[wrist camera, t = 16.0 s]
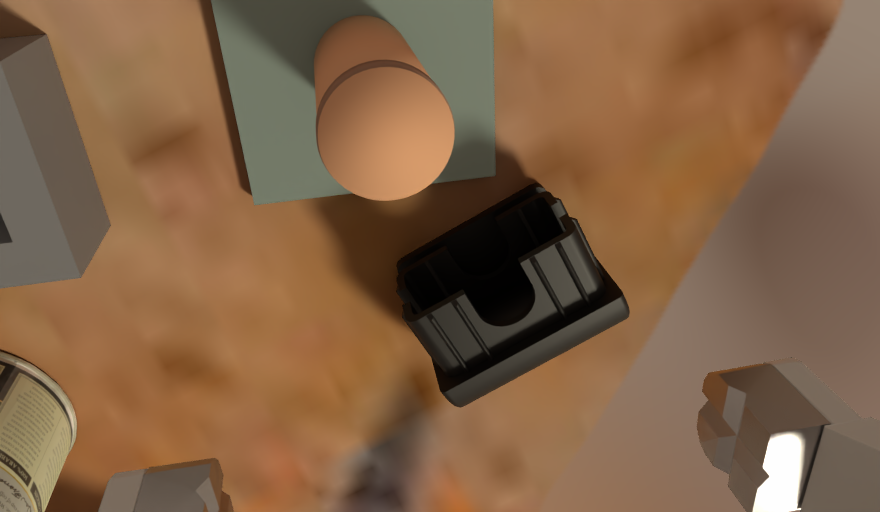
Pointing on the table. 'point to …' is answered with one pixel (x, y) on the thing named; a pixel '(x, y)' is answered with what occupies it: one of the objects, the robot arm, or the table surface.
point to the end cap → (505, 294)
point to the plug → (378, 111)
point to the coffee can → (31, 435)
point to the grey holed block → (42, 172)
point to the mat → (293, 83)
